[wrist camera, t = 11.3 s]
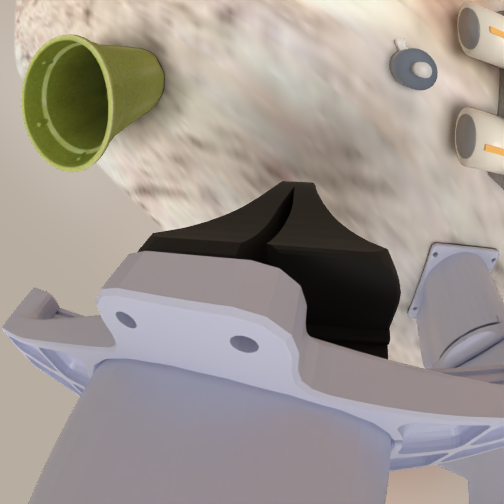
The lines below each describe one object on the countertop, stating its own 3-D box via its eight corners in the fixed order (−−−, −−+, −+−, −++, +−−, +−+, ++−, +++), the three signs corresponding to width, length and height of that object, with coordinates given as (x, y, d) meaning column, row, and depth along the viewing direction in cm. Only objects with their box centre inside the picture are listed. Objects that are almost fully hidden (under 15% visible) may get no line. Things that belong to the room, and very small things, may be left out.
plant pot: (169, 146, 23) (105, 192, 16) (89, 119, 22) (21, 153, 16) (198, 41, 17) (127, 39, 10) (105, 27, 16) (27, 35, 10)
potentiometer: (431, 83, 14) (450, 89, 12) (397, 90, 16) (411, 96, 13) (415, 36, 13) (432, 32, 10) (379, 43, 14) (390, 39, 11)
